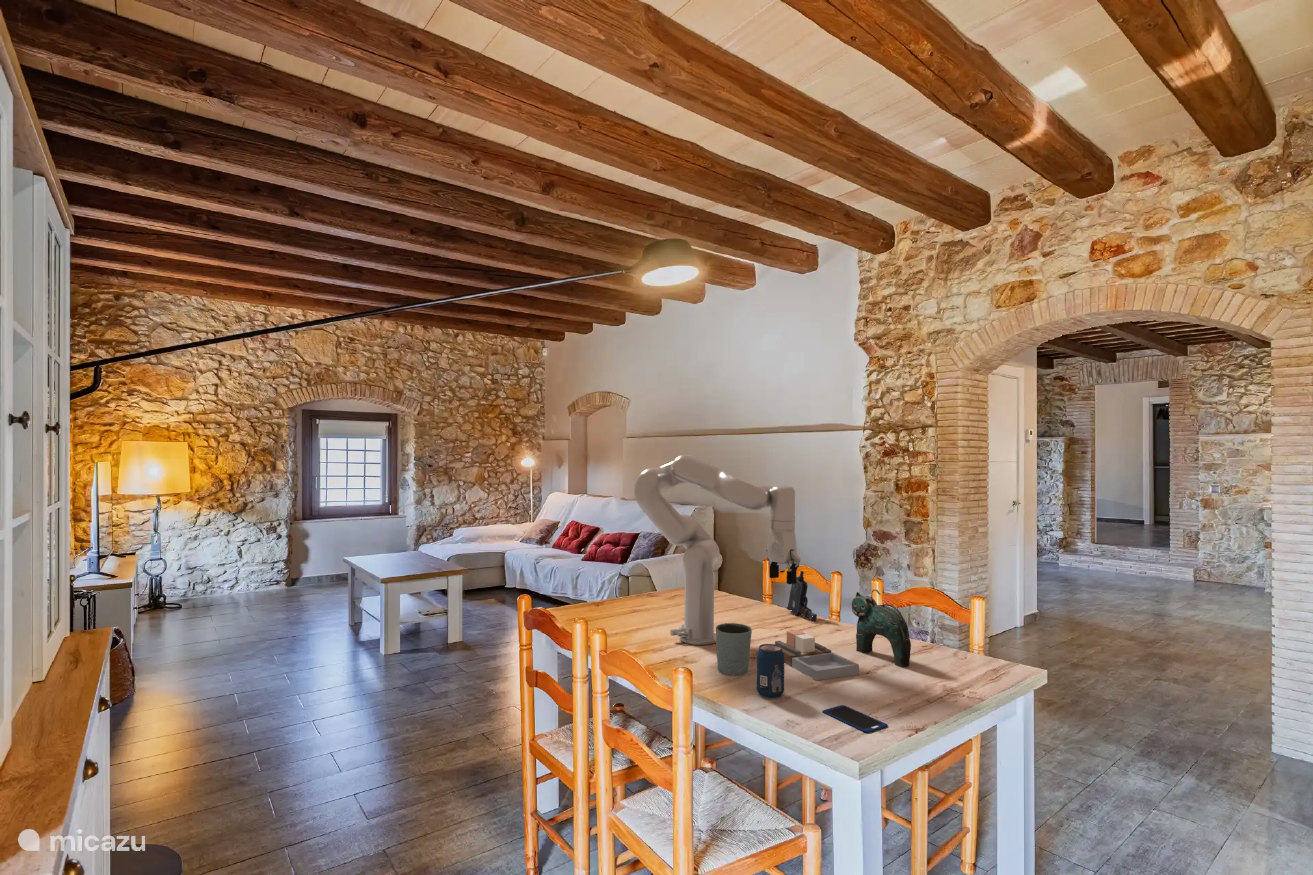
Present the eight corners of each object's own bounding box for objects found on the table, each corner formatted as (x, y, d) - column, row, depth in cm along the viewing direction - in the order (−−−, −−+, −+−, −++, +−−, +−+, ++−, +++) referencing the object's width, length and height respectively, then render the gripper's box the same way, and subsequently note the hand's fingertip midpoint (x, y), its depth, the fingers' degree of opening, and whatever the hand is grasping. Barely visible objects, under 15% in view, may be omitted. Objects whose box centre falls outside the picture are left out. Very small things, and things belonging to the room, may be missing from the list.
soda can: (765, 687, 172) (765, 641, 173) (789, 693, 168) (789, 646, 168) (751, 695, 167) (751, 647, 167) (775, 702, 163) (775, 653, 163)
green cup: (730, 662, 192) (731, 620, 192) (759, 670, 185) (759, 627, 185) (707, 670, 185) (708, 627, 185) (736, 679, 178) (736, 635, 178)
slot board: (791, 666, 189) (791, 652, 189) (770, 655, 199) (770, 641, 199) (831, 660, 194) (831, 646, 194) (809, 649, 204) (809, 636, 204)
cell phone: (866, 735, 145) (867, 732, 145) (820, 713, 157) (820, 710, 157) (889, 728, 149) (889, 724, 149) (842, 707, 161) (842, 704, 161)
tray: (816, 680, 178) (816, 670, 178) (792, 667, 188) (792, 657, 188) (858, 673, 183) (858, 664, 183) (832, 661, 194) (832, 652, 194)
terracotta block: (794, 648, 196) (794, 634, 196) (786, 644, 200) (786, 631, 200) (805, 646, 198) (805, 633, 198) (797, 642, 201) (797, 629, 201)
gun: (817, 585, 233) (793, 567, 247) (809, 628, 237) (786, 608, 251) (823, 584, 235) (799, 566, 248) (815, 627, 238) (791, 607, 252)
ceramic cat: (849, 649, 205) (849, 585, 205) (865, 646, 208) (865, 583, 208) (900, 669, 187) (900, 598, 187) (916, 665, 190) (916, 596, 190)
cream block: (803, 652, 192) (803, 638, 192) (795, 648, 196) (795, 635, 196) (814, 651, 193) (814, 637, 193) (806, 647, 197) (806, 633, 197)
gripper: (757, 523, 213) (757, 576, 213) (788, 529, 197) (788, 587, 197) (777, 522, 216) (777, 574, 216) (809, 528, 200) (809, 585, 200)
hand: (782, 580), depth 207 cm, fingers open, 9 cm apart
